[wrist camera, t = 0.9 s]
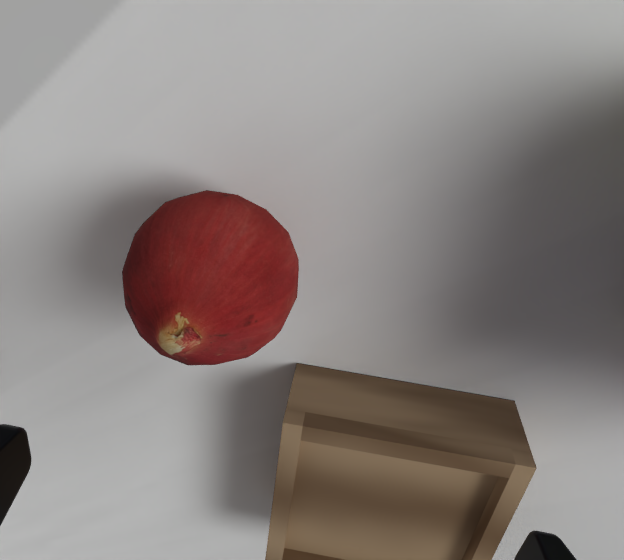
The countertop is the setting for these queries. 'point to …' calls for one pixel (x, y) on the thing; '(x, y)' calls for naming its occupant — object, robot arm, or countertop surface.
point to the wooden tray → (394, 470)
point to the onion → (210, 278)
